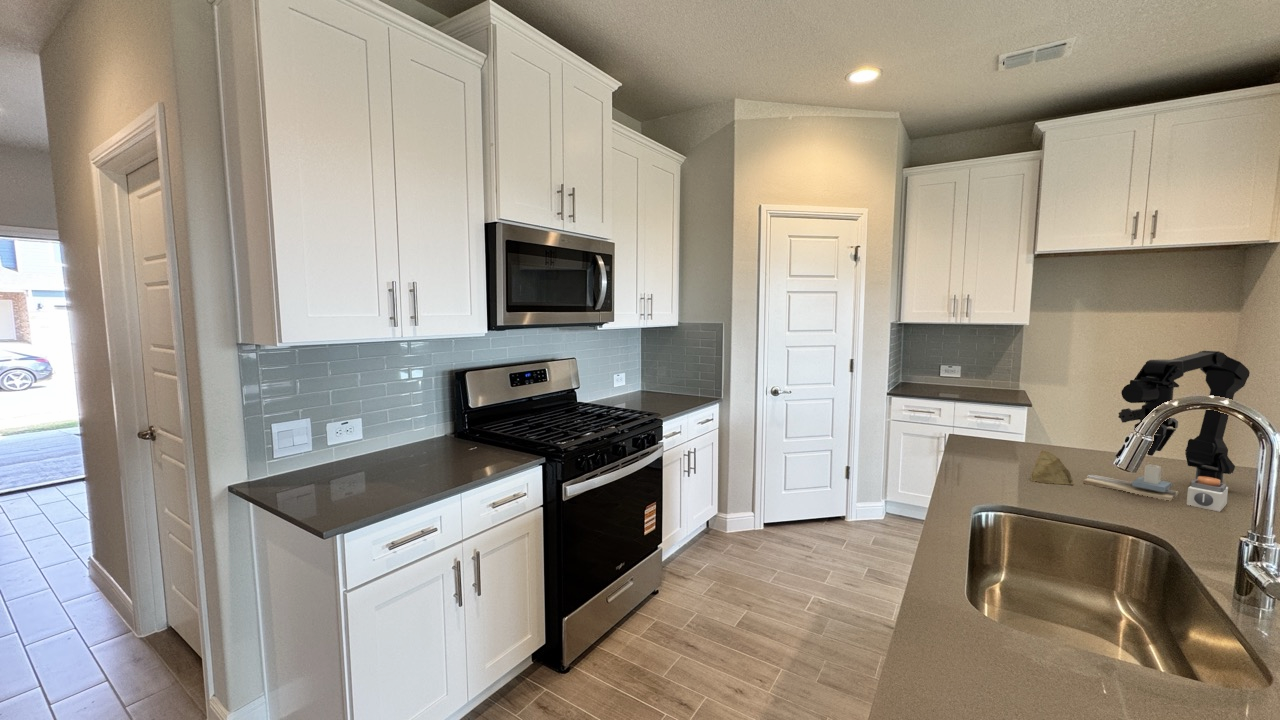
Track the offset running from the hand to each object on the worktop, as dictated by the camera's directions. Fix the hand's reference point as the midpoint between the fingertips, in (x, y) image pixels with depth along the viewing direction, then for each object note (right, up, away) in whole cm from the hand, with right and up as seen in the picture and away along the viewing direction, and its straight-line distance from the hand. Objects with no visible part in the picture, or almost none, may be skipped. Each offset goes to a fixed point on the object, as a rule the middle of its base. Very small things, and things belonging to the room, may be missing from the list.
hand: (1154, 453), depth 156 cm
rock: (-22, -12, +12) cm, 27 cm away
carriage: (0, -10, +1) cm, 10 cm away
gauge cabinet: (+7, -13, -8) cm, 17 cm away
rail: (-3, -12, +5) cm, 13 cm away
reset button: (+7, -7, -9) cm, 13 cm away
